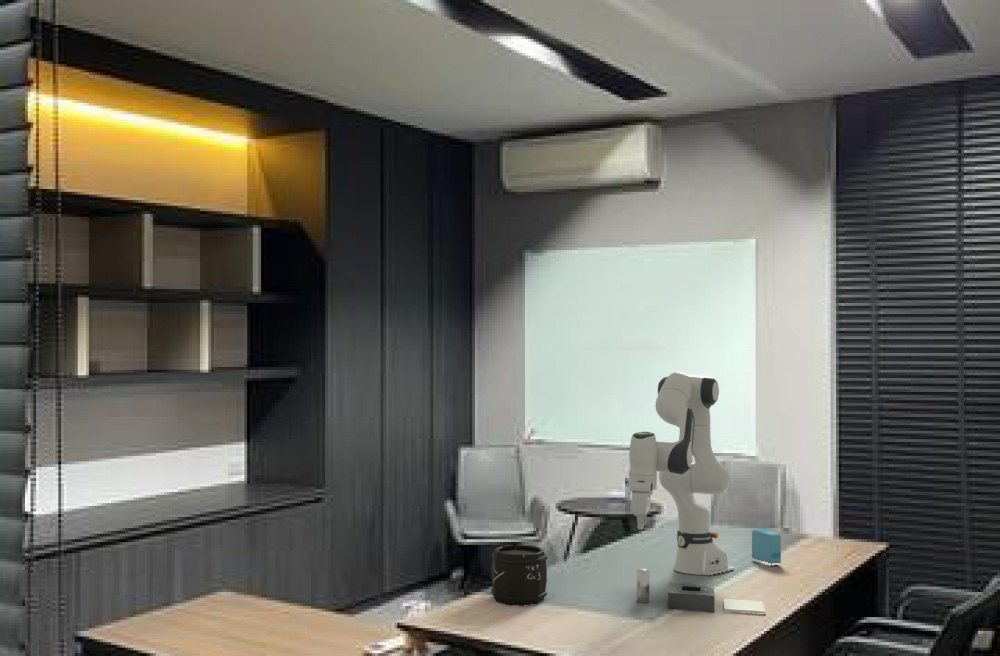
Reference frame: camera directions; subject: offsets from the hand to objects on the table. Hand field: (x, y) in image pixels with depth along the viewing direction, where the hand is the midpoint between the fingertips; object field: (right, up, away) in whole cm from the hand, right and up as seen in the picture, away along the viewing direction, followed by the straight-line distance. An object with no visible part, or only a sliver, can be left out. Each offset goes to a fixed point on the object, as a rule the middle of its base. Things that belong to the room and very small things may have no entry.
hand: (641, 526), depth 296 cm
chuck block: (+15, -23, -5) cm, 28 cm away
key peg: (0, -23, -2) cm, 23 cm away
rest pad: (+30, -24, -8) cm, 39 cm away
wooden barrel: (-40, -23, -1) cm, 46 cm away
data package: (+56, -26, +56) cm, 83 cm away
